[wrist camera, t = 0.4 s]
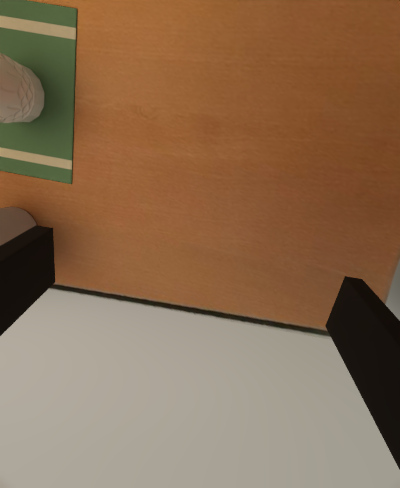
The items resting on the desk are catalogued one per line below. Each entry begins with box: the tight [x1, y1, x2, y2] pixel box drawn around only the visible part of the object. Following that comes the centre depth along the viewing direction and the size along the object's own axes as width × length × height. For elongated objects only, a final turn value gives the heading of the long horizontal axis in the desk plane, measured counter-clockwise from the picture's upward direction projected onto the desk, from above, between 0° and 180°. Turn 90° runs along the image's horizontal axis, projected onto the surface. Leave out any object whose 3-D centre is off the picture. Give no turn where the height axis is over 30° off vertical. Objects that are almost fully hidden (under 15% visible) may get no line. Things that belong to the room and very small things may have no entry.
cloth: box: [0, 0, 77, 184], centre depth 37 cm, size 20×14×1 cm
